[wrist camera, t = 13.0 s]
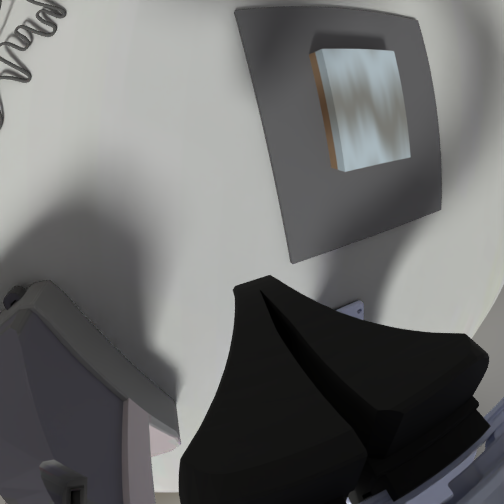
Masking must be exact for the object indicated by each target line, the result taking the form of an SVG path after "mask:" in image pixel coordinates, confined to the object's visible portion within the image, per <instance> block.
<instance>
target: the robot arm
mask: <svg viewBox="0 0 504 504" xmlns="http://www.w3.org/2000/svg"><path fill="white" fill-rule="evenodd" d="M233 292H234V296H235V318H234V329H233V335H232V341H231V346H230V351H229V355H228V359H227V363H226V366H225V370H224V373H223V375H222V378H221V381H220V384H219V387H218V389H217V392H216V395H215V397H214V399H213V401H212V403H211V406H210V408H209V410H208V412H207V414H206V416H205V418H204V420H203V422H202V424H201V426H200V428H199V430H198V431H197V433H196V435H195V436H194V438H193V439H192V441H191V443H190V444H189V446H188V448H187V449H186V451H185V452H184V454H183V456H182V457H181V459H180V468H179V496H180V502H181V504H504V397H503V398H502V399H501V401H500V402H499V403H498V404H497V405H496V406H495V407H494V408H493V409H492V410H491V411H490V412H489V413H488V414H487V415H486V416H485V417H482V415H481V414H480V413H479V412H478V411H477V410H476V409H477V408H478V406H479V402H478V401H477V400H476V399H475V398H474V397H473V394H474V392H475V391H476V389H477V387H478V385H479V384H480V382H481V380H482V378H483V376H484V374H485V372H486V370H487V368H488V364H489V356H488V354H487V353H486V352H485V351H484V350H483V349H482V348H481V347H480V346H479V345H478V344H476V343H475V342H474V341H473V340H472V339H471V338H470V337H468V336H467V335H466V334H460V333H430V332H421V331H412V330H405V329H399V328H394V327H389V326H385V325H380V324H376V323H372V322H368V321H365V320H364V303H363V302H362V301H360V300H359V301H356V302H354V303H351V304H349V305H347V306H344V307H342V308H340V309H337V310H333V309H331V308H329V307H327V306H324V305H322V304H320V303H318V302H316V301H314V300H312V299H310V298H308V297H306V296H305V295H303V294H301V293H299V292H297V291H296V290H294V289H292V288H291V287H289V286H287V285H286V284H284V283H282V282H281V281H279V280H278V279H276V278H274V277H273V276H271V275H268V276H265V277H262V278H259V279H256V280H253V281H249V282H246V283H243V284H240V285H237V286H235V287H234V289H233ZM486 440H487V441H486ZM485 441H486V444H485V447H486V448H485V451H484V452H483V453H482V454H481V455H480V456H479V457H478V458H476V459H475V460H474V458H475V456H476V452H477V449H478V448H479V447H480V446H481V445H482V444H483V443H484V442H485Z"/></svg>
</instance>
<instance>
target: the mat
mask: <svg viewBox="0 0 504 504" xmlns="http://www.w3.org/2000/svg"><path fill="white" fill-rule="evenodd" d="M234 14H235V18H236V21H237V25H238V29H239V32H240V36H241V40H242V44H243V47H244V51H245V55H246V59H247V63H248V67H249V71H250V75H251V79H252V83H253V87H254V91H255V95H256V100H257V104H258V108H259V112H260V117H261V121H262V125H263V130H264V134H265V138H266V143H267V147H268V152H269V157H270V161H271V166H272V171H273V175H274V180H275V185H276V190H277V195H278V199H279V204H280V209H281V214H282V219H283V225H284V230H285V235H286V240H287V246H288V251H289V256H290V262H291V263H292V264H295V263H297V262H300V261H303V260H306V259H309V258H312V257H315V256H317V255H320V254H323V253H326V252H329V251H332V250H334V249H337V248H340V247H343V246H346V245H348V244H351V243H354V242H357V241H359V240H362V239H365V238H368V237H370V236H373V235H376V234H378V233H381V232H384V231H386V230H389V229H392V228H394V227H397V226H400V225H402V224H405V223H408V222H410V221H413V220H416V219H418V218H421V217H424V216H426V215H429V214H431V213H434V212H436V211H439V210H441V200H442V177H441V151H440V137H439V126H438V116H437V108H436V101H435V94H434V88H433V82H432V77H431V71H430V67H429V62H428V57H427V53H426V49H425V45H424V41H423V37H422V33H421V30H420V26H419V23H418V20H414V19H410V18H405V17H400V16H395V15H390V14H384V13H378V12H371V11H364V10H355V9H345V8H331V7H267V8H253V9H243V10H235V12H234ZM320 49H373V50H388V51H394V53H395V57H396V62H397V66H398V71H399V76H400V81H401V86H402V92H403V98H404V104H405V111H406V118H407V126H408V135H409V144H410V156H411V157H410V158H405V159H400V160H395V161H391V162H386V163H382V164H377V165H373V166H368V167H364V168H360V169H355V170H351V171H347V172H344V171H340V170H337V169H334V168H331V162H330V156H329V150H328V144H327V138H326V132H325V127H324V122H323V116H322V111H321V106H320V101H319V97H318V92H317V87H316V83H315V79H314V74H313V70H312V66H311V62H310V58H309V54H311V53H314V52H316V51H318V50H320Z"/></svg>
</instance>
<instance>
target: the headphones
mask: <svg viewBox="0 0 504 504" xmlns="http://www.w3.org/2000/svg"><path fill="white" fill-rule="evenodd" d="M27 1H28V2H31V3H33V4H36V5H40V6H43V7H47V8H50V9H54V10H57V11H60V12H61V13H62V14H63V15H58V14H55V13H53V12H51V11H48V10H45V9H42V10H39V11H38V12H37V13H36V18H37V19H38V20H39V21H41V22H42V23H44V24H46V25H48V26H51V27H52V28H53V32H52V33H51V34H46V33H43V32H40V31H37V30H34V29H32V28H30V27H27V26H24V25H20V26H18V27H17V28H16V29H15V34H16V35H17V36H19V37H21V38H22V39H24V40H25V42H26V43H27V45H26V47H25V48H22V47H19V46H17V45H15V44H13V43H10V42H2V43H0V46H2V45H8V46H11V47H13V48H15V49H17V50H20V51H25V50H26V49H28V47H29V45H30V41H29V40H28V38H27V37H26V36H24V35H22V34H21V33H19V32H18V31H17V30H18V29H19V28H23V29H26V30H28V31H30V32H33V33H35V34H38V35H41V36H45V37H50V36H52V35H54V33H55V32H56V30H57V27H56V25H54V24H52V23H50V22H47V21H45V20H44V19H42V18H41V17H40V16H39V13H41V12H44V13H47V14H49V15H52V16H54V17H56V18H64V17H65V16H66V12H65V11H64V10H63V9H61V8H59V7H55V6H52V5H48V4H44V3H41V2H37V1H34V0H27ZM1 2H2V0H0V8H1ZM0 61H2V62H4V63H5V64H7V65H9V66H11V67H13V68H15V69H17V70H19V71H21V72H22V73H24V74H26V75H27V76H28V79H21V78H17V77H13V76H0V79H10V80H15V81H19V82H23V83H27V82H29V81H30V80H31V74H30V73H29V72H27V71H26V70H24V69H22V68H21V67H19V66H17V65H15V64H13V63H11V62H9V61H7V60H5V59H4V58H2V57H0ZM2 122H3V119H2V114H1V111H0V129H1V126H2Z"/></svg>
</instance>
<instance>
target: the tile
mask: <svg viewBox="0 0 504 504" xmlns="http://www.w3.org/2000/svg"><path fill="white" fill-rule="evenodd" d="M309 58H310V62H311V66H312V70H313V74H314V79H315V83H316V87H317V92H318V97H319V101H320V106H321V111H322V116H323V122H324V127H325V132H326V138H327V144H328V150H329V156H330V162H331V168H334V169H337V170H340V171H344V172H347V171H351V170H355V169H360V168H364V167H368V166H373V165H377V164H382V163H386V162H391V161H395V160H400V159H405V158H410V157H411V156H410V144H409V135H408V126H407V118H406V111H405V104H404V98H403V92H402V86H401V81H400V76H399V71H398V66H397V62H396V57H395V53H394V51H388V50H373V49H320V50H318V51H316V52H314V53H311V54H309Z"/></svg>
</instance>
